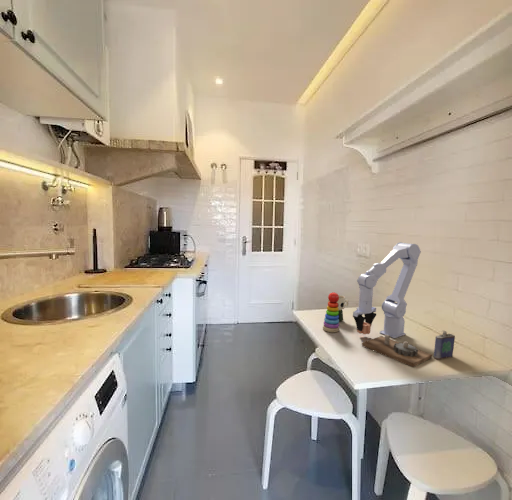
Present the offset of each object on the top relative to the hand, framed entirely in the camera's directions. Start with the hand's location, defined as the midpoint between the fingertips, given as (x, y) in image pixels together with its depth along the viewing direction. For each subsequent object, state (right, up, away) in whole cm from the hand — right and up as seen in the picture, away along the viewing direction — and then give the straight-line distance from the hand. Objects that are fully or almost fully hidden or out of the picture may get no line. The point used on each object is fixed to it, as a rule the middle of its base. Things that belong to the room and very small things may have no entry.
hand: (363, 329), depth 139 cm
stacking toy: (-13, -3, +8) cm, 16 cm away
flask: (+25, -7, -18) cm, 32 cm away
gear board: (+8, -6, -15) cm, 18 cm away
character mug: (-6, -1, +23) cm, 24 cm away
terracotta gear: (0, -1, 0) cm, 1 cm away
